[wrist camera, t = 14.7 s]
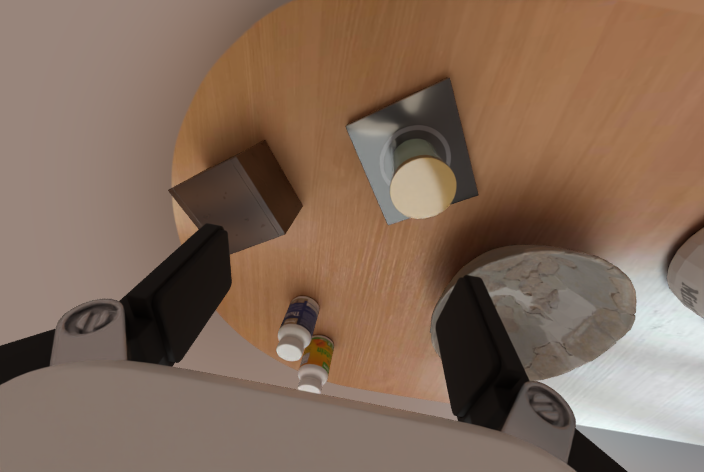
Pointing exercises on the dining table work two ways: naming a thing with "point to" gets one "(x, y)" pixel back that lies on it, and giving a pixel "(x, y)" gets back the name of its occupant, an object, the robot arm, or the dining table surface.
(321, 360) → the supplement bottle
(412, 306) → the dining table surface
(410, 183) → the jar
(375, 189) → the hob
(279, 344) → the pill bottle
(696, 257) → the mug
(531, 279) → the ceramic bowl
